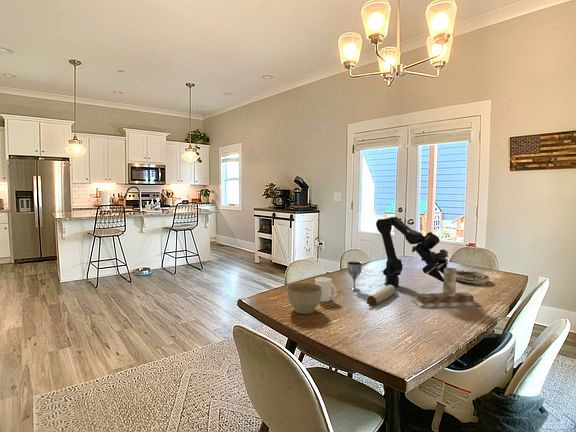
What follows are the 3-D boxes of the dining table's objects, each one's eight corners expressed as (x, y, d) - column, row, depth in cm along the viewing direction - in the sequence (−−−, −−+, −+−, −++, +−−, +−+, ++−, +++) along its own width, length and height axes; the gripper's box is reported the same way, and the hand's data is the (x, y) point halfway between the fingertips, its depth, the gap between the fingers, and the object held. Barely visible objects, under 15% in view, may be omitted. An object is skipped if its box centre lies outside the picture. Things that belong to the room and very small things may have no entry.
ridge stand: (420, 307, 159) (420, 298, 159) (411, 301, 168) (411, 292, 168) (479, 305, 162) (480, 296, 162) (467, 299, 171) (468, 291, 171)
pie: (482, 276, 217) (483, 268, 216) (505, 289, 190) (506, 281, 189) (437, 275, 220) (437, 267, 219) (453, 288, 193) (454, 279, 192)
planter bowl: (311, 320, 144) (312, 295, 143) (280, 312, 152) (280, 289, 152) (327, 308, 158) (328, 285, 157) (298, 302, 166) (298, 280, 165)
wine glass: (352, 292, 181) (353, 265, 179) (343, 288, 188) (344, 262, 186) (364, 290, 184) (365, 263, 183) (355, 287, 191) (355, 261, 190)
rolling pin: (372, 309, 157) (372, 299, 157) (361, 306, 161) (362, 296, 160) (399, 293, 181) (400, 284, 181) (389, 291, 185) (390, 282, 185)
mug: (340, 300, 168) (341, 280, 167) (331, 305, 162) (331, 284, 161) (321, 295, 176) (321, 276, 175) (311, 299, 170) (311, 279, 169)
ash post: (442, 294, 165) (444, 268, 164) (446, 292, 168) (447, 267, 167) (452, 296, 162) (453, 270, 161) (455, 294, 165) (456, 268, 164)
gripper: (430, 246, 161) (453, 273, 154) (444, 242, 174) (466, 266, 167) (413, 260, 167) (434, 286, 161) (428, 254, 180) (449, 279, 174)
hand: (447, 279), depth 165 cm, fingers open, 9 cm apart
